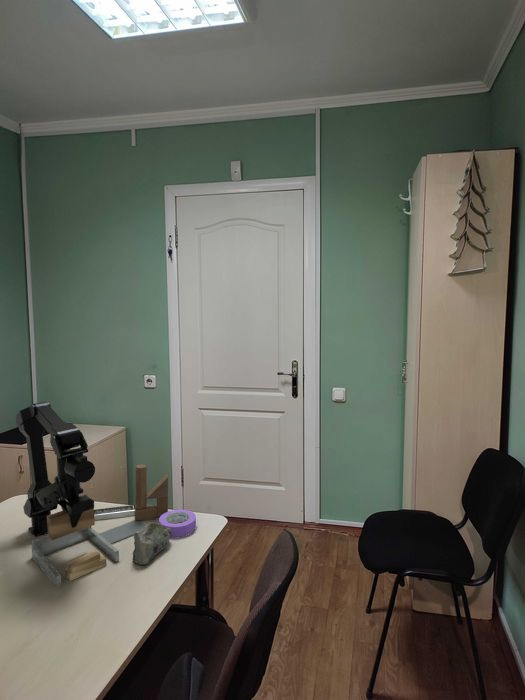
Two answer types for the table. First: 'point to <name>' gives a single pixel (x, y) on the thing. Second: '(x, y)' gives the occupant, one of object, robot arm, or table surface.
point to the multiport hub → (114, 512)
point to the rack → (48, 546)
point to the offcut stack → (85, 565)
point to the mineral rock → (150, 542)
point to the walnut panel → (67, 523)
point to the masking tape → (181, 528)
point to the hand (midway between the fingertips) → (71, 525)
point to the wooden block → (149, 496)
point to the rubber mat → (122, 531)
